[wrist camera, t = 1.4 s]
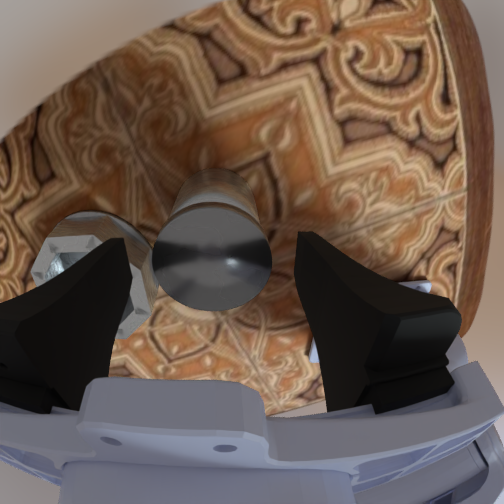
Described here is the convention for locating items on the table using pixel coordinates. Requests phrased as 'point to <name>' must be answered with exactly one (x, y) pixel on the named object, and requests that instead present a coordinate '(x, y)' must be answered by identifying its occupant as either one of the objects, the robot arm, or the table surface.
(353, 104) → the table surface
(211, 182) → the grey domed cylinder
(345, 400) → the robot arm
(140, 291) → the grey octagonal tray
